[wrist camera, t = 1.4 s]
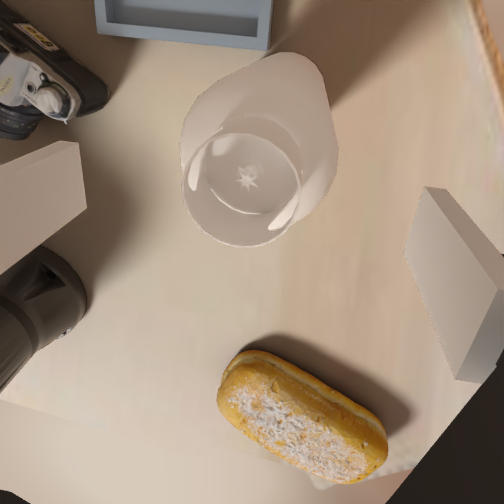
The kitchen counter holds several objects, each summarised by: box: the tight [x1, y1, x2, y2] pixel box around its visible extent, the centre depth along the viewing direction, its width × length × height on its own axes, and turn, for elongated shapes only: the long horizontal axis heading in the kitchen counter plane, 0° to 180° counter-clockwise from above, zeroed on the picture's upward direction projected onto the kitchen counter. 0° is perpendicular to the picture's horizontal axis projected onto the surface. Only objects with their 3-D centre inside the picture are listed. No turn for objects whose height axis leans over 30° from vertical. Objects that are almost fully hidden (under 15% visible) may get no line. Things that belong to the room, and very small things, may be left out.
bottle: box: [179, 52, 339, 248], centre depth 28 cm, size 8×8×28 cm
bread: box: [217, 350, 388, 484], centre depth 57 cm, size 13×26×8 cm, turn 60°
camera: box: [0, 0, 110, 140], centre depth 38 cm, size 16×10×10 cm, turn 51°
